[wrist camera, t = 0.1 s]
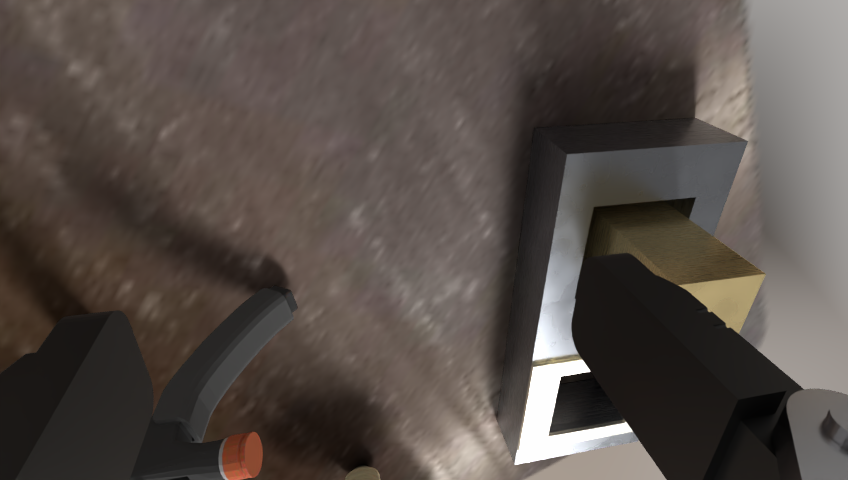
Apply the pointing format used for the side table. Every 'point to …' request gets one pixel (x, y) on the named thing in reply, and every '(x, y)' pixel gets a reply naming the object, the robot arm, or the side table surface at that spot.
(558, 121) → the side table surface
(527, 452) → the grey peg holder block
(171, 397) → the hand grip strengthener
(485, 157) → the side table surface
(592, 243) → the brass block
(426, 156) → the side table surface
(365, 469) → the red two-lobed part
